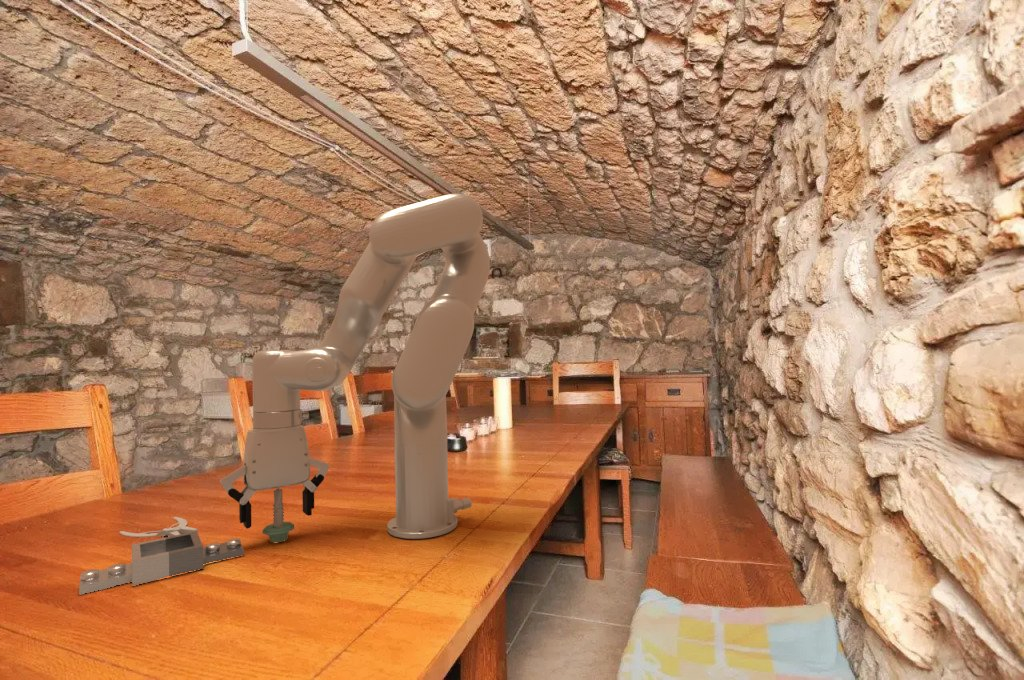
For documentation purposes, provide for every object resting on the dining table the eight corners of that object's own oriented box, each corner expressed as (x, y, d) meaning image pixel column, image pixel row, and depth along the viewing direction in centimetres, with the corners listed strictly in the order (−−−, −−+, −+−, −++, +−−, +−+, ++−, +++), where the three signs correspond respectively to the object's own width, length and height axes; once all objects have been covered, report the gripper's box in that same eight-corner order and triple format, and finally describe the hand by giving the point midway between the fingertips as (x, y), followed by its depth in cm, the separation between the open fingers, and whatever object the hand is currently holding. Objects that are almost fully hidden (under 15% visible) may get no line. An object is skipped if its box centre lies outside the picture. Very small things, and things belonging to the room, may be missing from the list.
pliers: (176, 512, 101) (216, 523, 93) (176, 520, 101) (216, 532, 93) (117, 527, 92) (156, 541, 84) (117, 536, 92) (156, 551, 84)
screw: (255, 544, 85) (279, 534, 90) (278, 547, 83) (300, 537, 88) (255, 490, 85) (278, 483, 90) (277, 493, 84) (300, 485, 88)
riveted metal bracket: (236, 543, 86) (236, 523, 86) (245, 559, 79) (245, 536, 79) (82, 578, 73) (82, 554, 73) (78, 600, 67) (78, 573, 67)
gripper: (321, 414, 95) (322, 504, 95) (217, 423, 85) (217, 525, 84) (334, 417, 90) (335, 514, 89) (223, 428, 79) (224, 537, 78)
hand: (278, 519), depth 87 cm, fingers open, 9 cm apart
